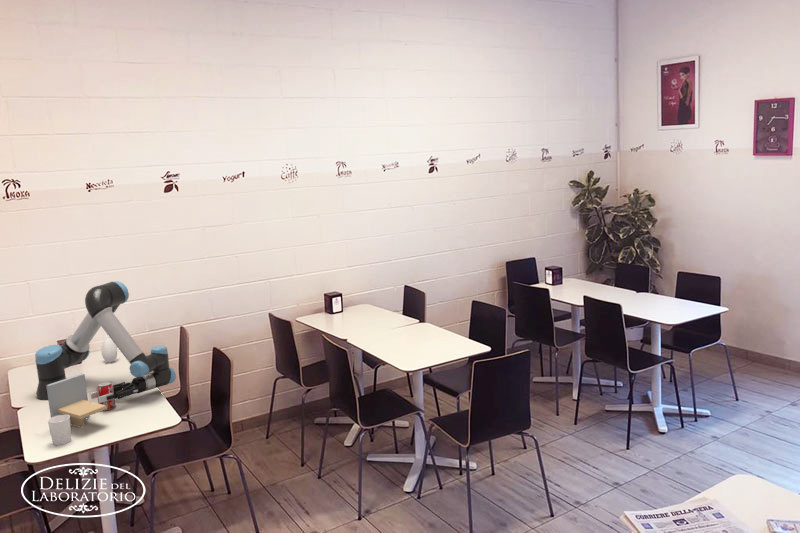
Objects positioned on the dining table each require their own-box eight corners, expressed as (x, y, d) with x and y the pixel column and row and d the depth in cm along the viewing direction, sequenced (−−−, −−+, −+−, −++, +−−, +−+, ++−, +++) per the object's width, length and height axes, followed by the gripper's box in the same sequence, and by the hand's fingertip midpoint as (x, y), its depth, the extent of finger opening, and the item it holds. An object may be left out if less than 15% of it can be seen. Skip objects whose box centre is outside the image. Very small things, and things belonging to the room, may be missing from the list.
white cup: (56, 438, 265) (53, 415, 264) (76, 436, 266) (73, 414, 264) (47, 446, 258) (44, 423, 256) (68, 445, 258) (64, 421, 257)
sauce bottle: (121, 361, 367) (117, 330, 363) (108, 365, 360) (104, 334, 357) (112, 359, 371) (109, 329, 368) (100, 363, 364) (96, 332, 361)
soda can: (109, 412, 292) (106, 386, 289) (95, 411, 293) (92, 386, 291) (119, 406, 298) (116, 381, 296) (105, 405, 300) (102, 380, 298)
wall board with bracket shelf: (52, 430, 274) (46, 385, 270) (87, 416, 287) (81, 373, 284) (77, 438, 265) (71, 391, 261) (112, 423, 278) (107, 379, 275)
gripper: (132, 372, 314) (84, 385, 297) (153, 380, 301) (103, 395, 284) (134, 386, 315) (86, 401, 298) (154, 395, 302) (105, 411, 285)
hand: (94, 398), depth 291 cm, fingers closed on soda can, 7 cm apart
